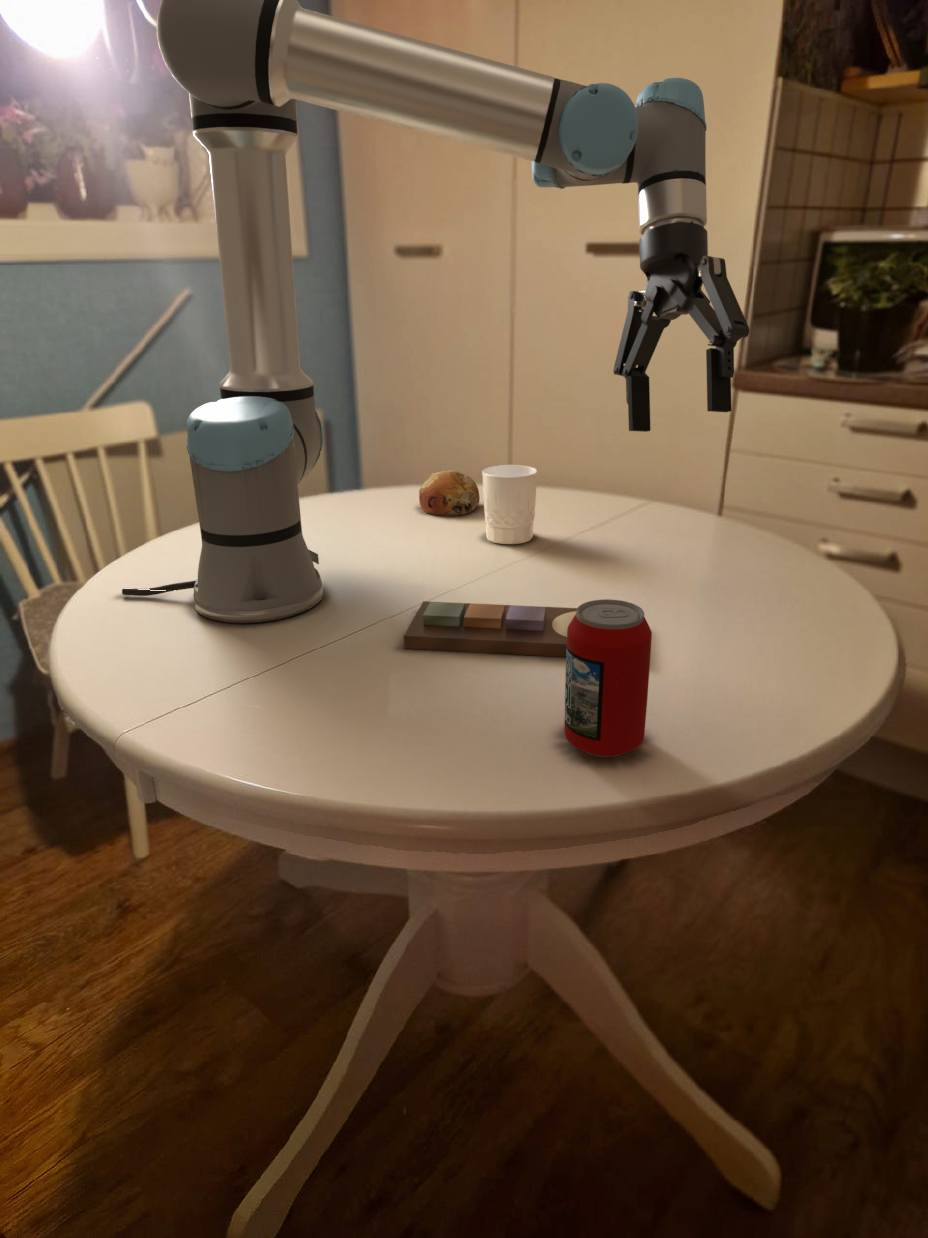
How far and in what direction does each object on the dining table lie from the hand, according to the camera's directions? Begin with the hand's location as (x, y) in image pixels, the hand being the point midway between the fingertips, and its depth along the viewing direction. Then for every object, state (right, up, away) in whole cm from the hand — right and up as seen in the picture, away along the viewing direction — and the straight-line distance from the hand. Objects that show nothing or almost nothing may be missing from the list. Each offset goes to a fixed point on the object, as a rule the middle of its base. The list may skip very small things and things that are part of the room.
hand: (677, 421), depth 99 cm
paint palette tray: (-18, -24, -5) cm, 31 cm away
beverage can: (-13, -33, -26) cm, 44 cm away
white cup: (-18, -11, +28) cm, 35 cm away
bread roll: (-27, -5, +43) cm, 51 cm away
